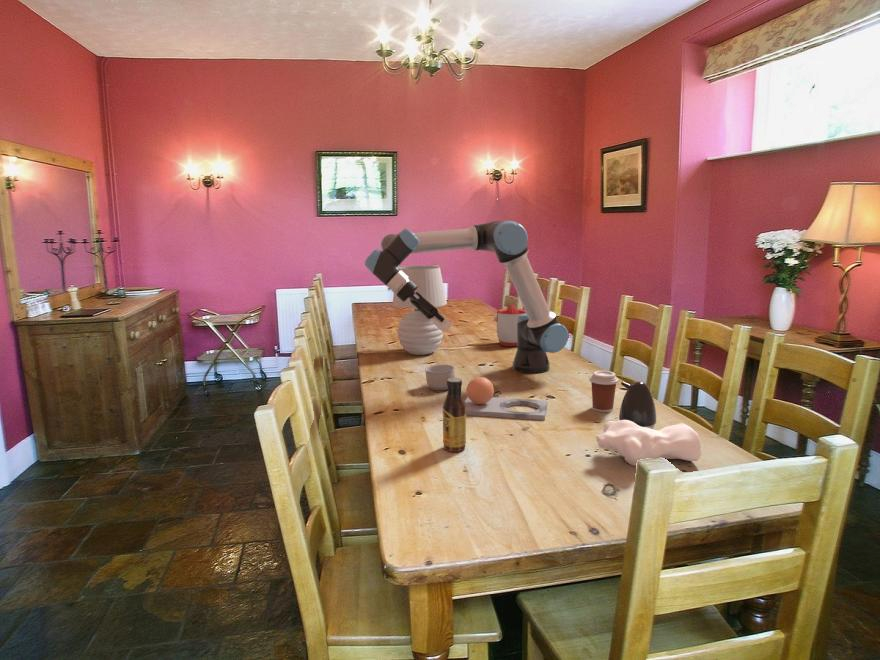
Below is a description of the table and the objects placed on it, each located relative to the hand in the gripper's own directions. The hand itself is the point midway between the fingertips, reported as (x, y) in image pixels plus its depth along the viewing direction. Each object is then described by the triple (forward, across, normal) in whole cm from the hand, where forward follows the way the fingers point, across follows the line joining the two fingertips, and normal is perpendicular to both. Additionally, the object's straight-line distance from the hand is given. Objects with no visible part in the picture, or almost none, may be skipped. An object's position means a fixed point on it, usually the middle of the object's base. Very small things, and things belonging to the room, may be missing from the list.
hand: (447, 328), depth 197 cm
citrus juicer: (+33, -82, +24) cm, 91 cm away
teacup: (+14, -17, -16) cm, 27 cm away
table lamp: (+3, -73, -9) cm, 73 cm away
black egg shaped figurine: (+59, +36, +12) cm, 70 cm away
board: (+31, +11, -8) cm, 34 cm away
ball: (+21, +10, -9) cm, 25 cm away
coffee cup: (+54, +15, +14) cm, 58 cm away
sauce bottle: (+22, +40, -27) cm, 53 cm away
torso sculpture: (+57, +54, +4) cm, 78 cm away
